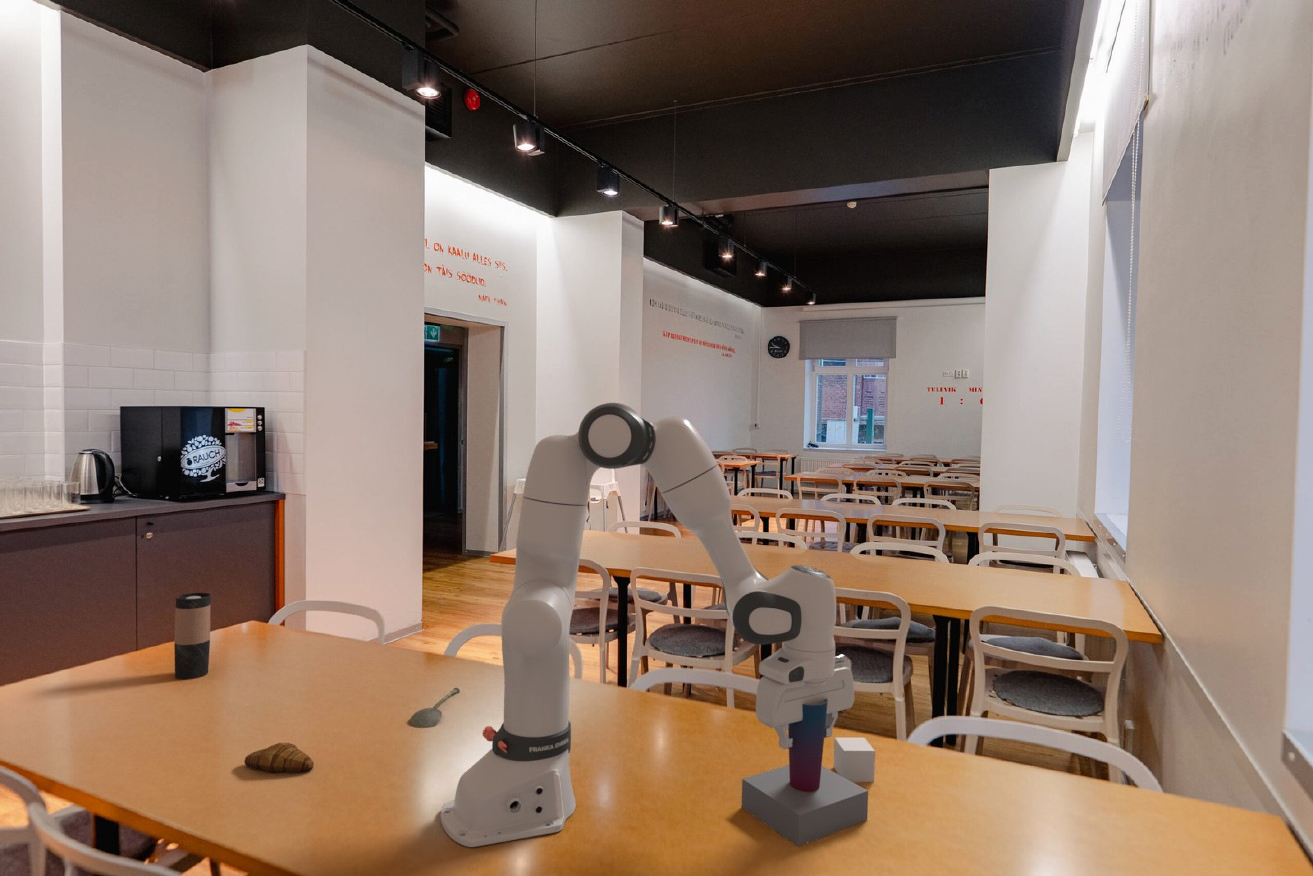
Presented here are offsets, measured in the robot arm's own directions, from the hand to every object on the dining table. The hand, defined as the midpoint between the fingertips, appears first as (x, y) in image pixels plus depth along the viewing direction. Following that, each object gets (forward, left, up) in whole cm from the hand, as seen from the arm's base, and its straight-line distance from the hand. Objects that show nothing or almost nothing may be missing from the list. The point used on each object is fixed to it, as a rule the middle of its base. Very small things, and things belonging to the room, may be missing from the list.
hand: (805, 741), depth 127 cm
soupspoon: (-40, +76, -13) cm, 87 cm away
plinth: (0, 0, -12) cm, 12 cm away
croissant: (-74, +62, -13) cm, 97 cm away
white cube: (+19, +6, -13) cm, 24 cm away
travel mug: (-87, +128, -13) cm, 155 cm away
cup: (0, 0, -8) cm, 8 cm away
